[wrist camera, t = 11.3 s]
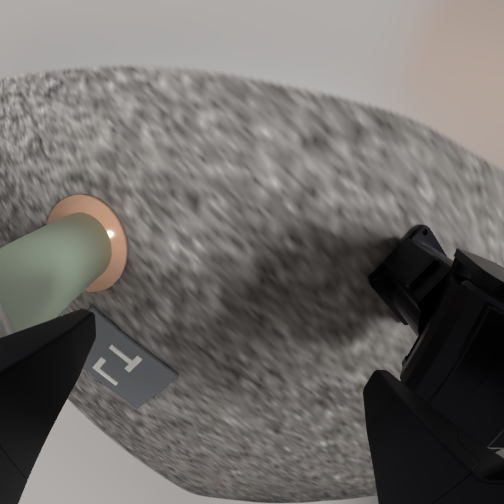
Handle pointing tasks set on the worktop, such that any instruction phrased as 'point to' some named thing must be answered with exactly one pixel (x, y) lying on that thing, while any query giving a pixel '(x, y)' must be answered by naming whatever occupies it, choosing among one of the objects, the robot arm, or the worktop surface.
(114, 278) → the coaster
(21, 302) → the green tumbler
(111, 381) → the tile
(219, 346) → the worktop surface
